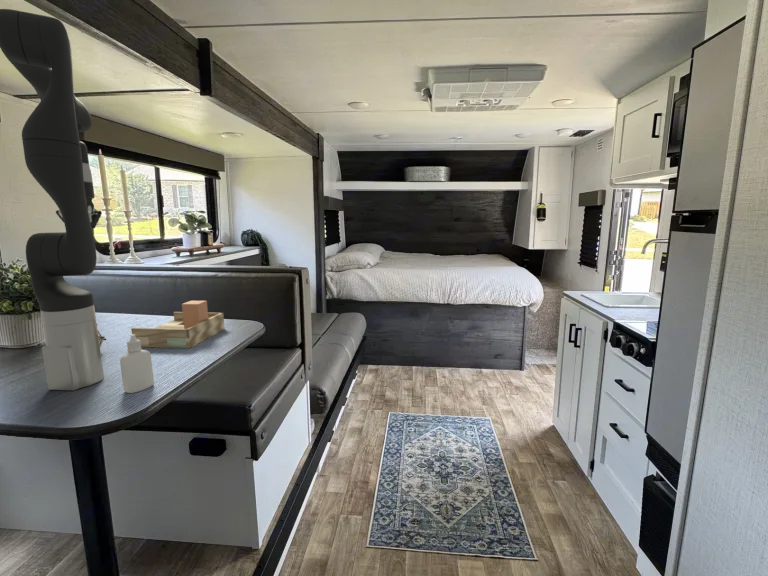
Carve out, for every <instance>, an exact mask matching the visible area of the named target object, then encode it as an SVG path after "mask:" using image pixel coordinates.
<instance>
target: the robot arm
mask: <svg viewBox="0 0 768 576" xmlns="http://www.w3.org/2000/svg"><path fill="white" fill-rule="evenodd" d="M0 50H1V52H2V53H3V55H4V56H5V58H7V61H9V63H10V64H12V66H13V67H14V68H15V69H16V70H17V71H18V72H19V74H20V75H22V77H24V78H25V79H26V81H27V82H28V83H29V84H30V85H31V86H32V87H33V88H34V91H35V92H36V94H37V95H38V97H39V99H40V102H39V103H38V105H37V106H36V107H35V108H34V109H33V110H32V113H31V114H30V115H29V116H28V118H27V119H26V121H25V123H24V125H23V127H22V131H21V140H22V146H23V147H22V148H23V155H24V160H25V165H26V168H27V169H28V171H29V173H30V174H31V175H32V177H33V178H34V180H35V181H36V182H37V183H38V184H39V185H40V187H41V188H42V189H43V190H44V191H45V193H47V194H48V195H49V197H50V198H51V199H52V200H53V202H54V203H55V205H56V206H57V208H58V210H55V214H56V215H57V217H58V218H59V219H60V220H61V221H62V222H63V223H64V228H65V232H59V231H58V232H38V233H34V234H32V235H30V236H29V238H28V239H27V241H26V245H25V260H26V264H27V268H28V273H29V276H30V281H31V284H32V290H33V294H34V297H35V299H36V301H37V302H38V305H39V306H38V307H39V311H40V317H41V323H42V328H43V334H44V335H43V336H44V342H45V345H44V346H42V347H41V352H42V358H43V364H44V369H45V377H46V382H47V389H48V390H52V391H53V390H54V391H76V390H78V389H81V388H84V387H88V386H89V387H90V386H92V385H95V384H97V383H99V382H101V381H103V380H104V377H105V372H104V366H103V359H102V351H101V347H100V344H99V337H98V331H99V330H98V323H97V316H96V310H95V309H96V307H95V301H94V295H93V292H91V291H89V290H86V289H82V288H80V287H76V286H74V285H72V284H70V283H69V282H68V281H66V280H65V278H64V277H72V276H74V277H75V276H79V277H80V276H87V275H90V274H92V273H93V272H94V270H95V269H96V266H97V248H96V242H95V238H94V232H93V229H95V228H96V227H97V225H98V223H99V220H100V218H101V216H102V214H103V212H102V211H101V210H97V209H96V208H95V205H94V203H93V199H94V198H95V189H94V183H93V174H92V170H91V166H90V161H89V154H88V147H87V145H86V143H85V142H83V141H81V140H80V135H79V133H83V132H84V133H85V132H87V131H89V130H90V129H91V127H92V124H93V119H92V115H91V114H90V111H89V109H88V107H86V105H85V104H84V103H82V101H81V100H79V99H78V98H77V97H76V96H75V92H74V91H75V90H74V74H73V73H74V72H73V58H72V57H73V55H72V44H71V39H70V35H69V32H68V28H67V26H66V25H65V24H64V22H63V21H62V20H60V19H59V18H55V17H52V16H47V15H42V14H36V13H33V12H26V11H21V10H17V9H10V8H0Z"/></svg>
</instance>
